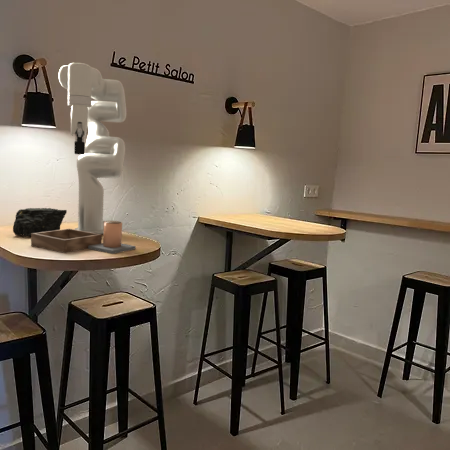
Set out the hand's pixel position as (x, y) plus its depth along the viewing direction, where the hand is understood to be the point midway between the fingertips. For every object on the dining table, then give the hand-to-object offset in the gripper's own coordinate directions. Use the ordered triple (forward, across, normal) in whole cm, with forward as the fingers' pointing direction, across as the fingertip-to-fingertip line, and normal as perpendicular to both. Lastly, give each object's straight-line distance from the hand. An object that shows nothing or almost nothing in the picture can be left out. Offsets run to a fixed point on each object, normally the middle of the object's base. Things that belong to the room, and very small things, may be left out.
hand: (79, 153), depth 154 cm
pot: (+30, +11, +11) cm, 34 cm away
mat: (+31, +11, +11) cm, 34 cm away
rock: (+32, -17, -13) cm, 39 cm away
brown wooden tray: (+31, +5, -4) cm, 32 cm away
